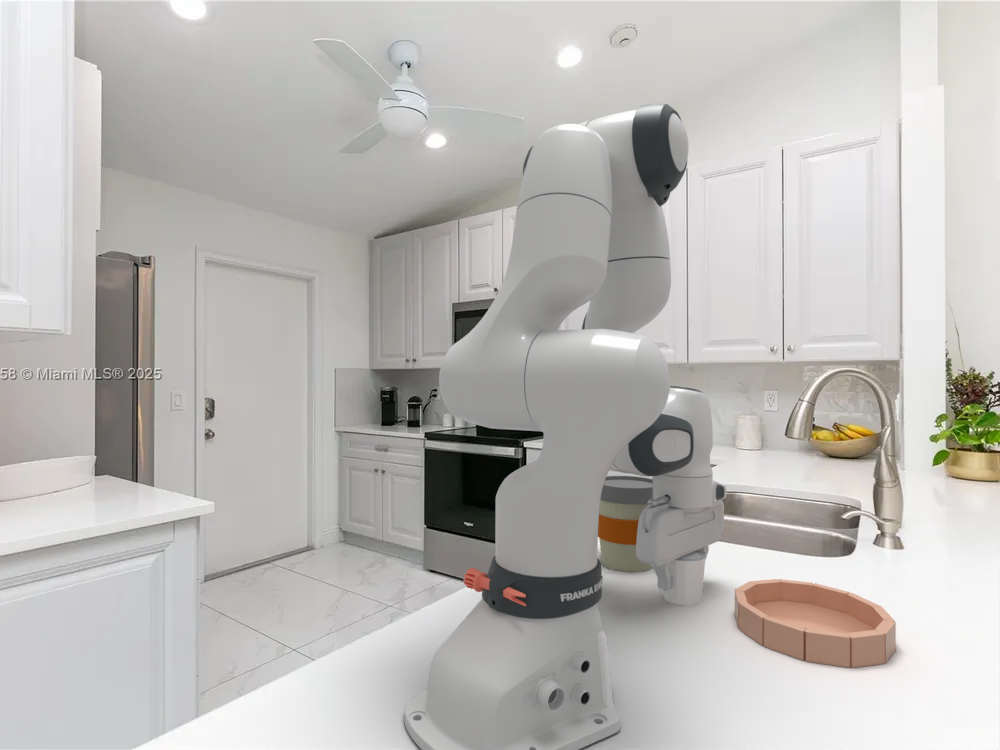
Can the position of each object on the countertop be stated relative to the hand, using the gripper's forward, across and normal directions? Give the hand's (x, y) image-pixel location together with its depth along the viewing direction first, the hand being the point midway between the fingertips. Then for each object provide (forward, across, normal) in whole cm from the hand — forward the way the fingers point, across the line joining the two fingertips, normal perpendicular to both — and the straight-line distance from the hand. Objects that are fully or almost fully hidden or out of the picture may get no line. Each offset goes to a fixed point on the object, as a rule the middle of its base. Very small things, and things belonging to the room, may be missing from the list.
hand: (681, 580), depth 84 cm
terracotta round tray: (+3, +3, -17) cm, 18 cm away
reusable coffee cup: (+3, +7, +15) cm, 17 cm away
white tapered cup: (+3, 0, 0) cm, 3 cm away
